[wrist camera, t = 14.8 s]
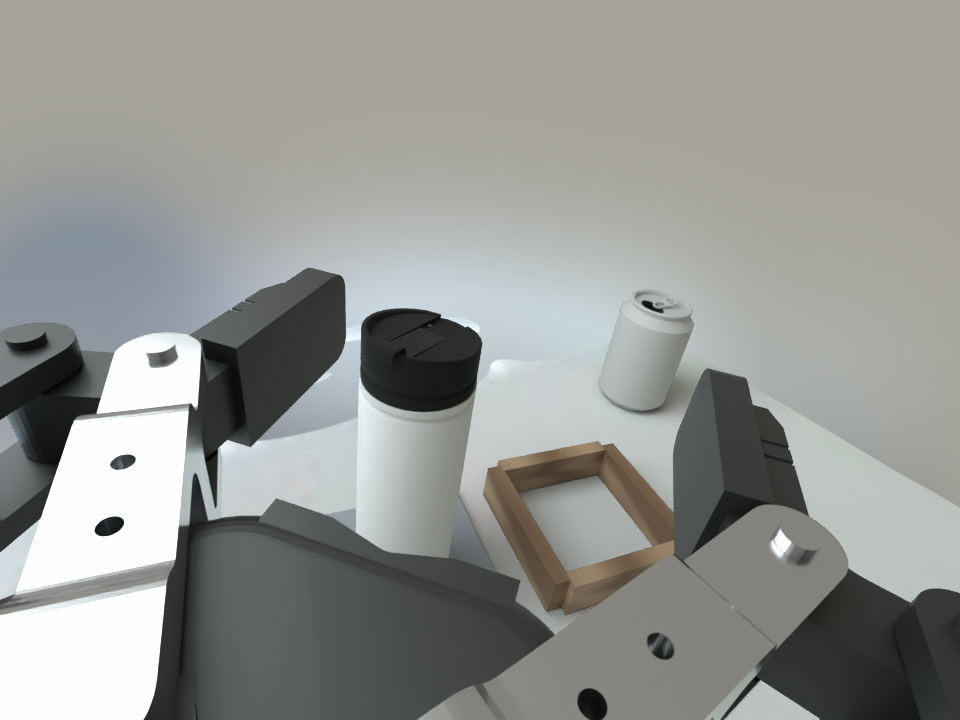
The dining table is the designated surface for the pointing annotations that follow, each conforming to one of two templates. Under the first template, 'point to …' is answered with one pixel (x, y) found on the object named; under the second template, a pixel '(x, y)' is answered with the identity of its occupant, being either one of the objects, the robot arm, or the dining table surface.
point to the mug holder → (533, 546)
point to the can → (646, 349)
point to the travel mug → (413, 428)
